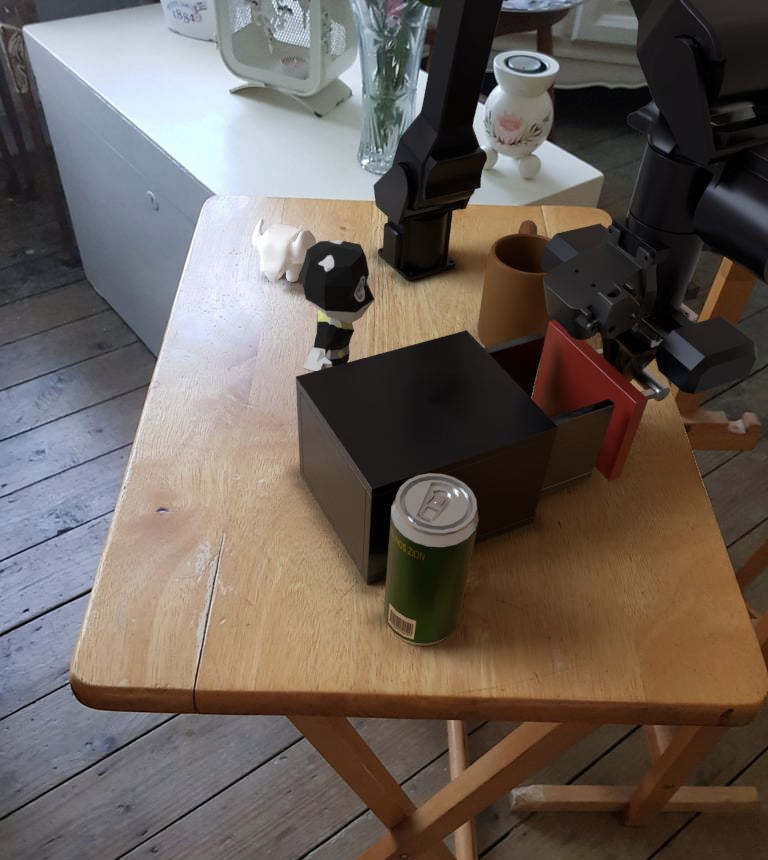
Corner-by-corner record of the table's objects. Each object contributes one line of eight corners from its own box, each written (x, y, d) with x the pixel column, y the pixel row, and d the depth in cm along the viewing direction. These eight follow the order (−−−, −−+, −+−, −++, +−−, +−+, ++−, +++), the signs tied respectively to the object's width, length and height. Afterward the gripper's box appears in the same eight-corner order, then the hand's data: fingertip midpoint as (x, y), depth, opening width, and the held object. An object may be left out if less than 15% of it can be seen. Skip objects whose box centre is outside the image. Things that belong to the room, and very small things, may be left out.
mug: (479, 289, 87) (491, 205, 80) (550, 297, 86) (569, 213, 79) (474, 357, 79) (488, 270, 72) (553, 366, 78) (574, 279, 71)
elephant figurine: (240, 287, 85) (235, 234, 81) (273, 250, 90) (270, 199, 86) (300, 302, 84) (298, 249, 79) (330, 264, 89) (330, 212, 84)
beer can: (438, 662, 55) (458, 549, 47) (369, 628, 57) (375, 513, 48) (470, 606, 59) (495, 491, 50) (404, 576, 60) (416, 459, 51)
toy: (353, 453, 69) (357, 300, 58) (284, 441, 69) (274, 287, 58) (385, 359, 78) (393, 211, 67) (323, 349, 78) (321, 200, 67)
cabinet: (453, 425, 72) (466, 329, 64) (532, 522, 64) (558, 427, 57) (299, 474, 67) (295, 376, 59) (367, 585, 60) (371, 489, 52)
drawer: (585, 381, 75) (608, 304, 69) (666, 460, 69) (698, 382, 63) (410, 436, 69) (418, 357, 63) (480, 528, 63) (496, 449, 56)
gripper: (501, 174, 59) (473, 350, 71) (667, 309, 48) (603, 491, 60) (622, 151, 63) (578, 321, 75) (802, 271, 52) (718, 449, 64)
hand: (613, 389), depth 68 cm, fingers closed, pressing on drawer
